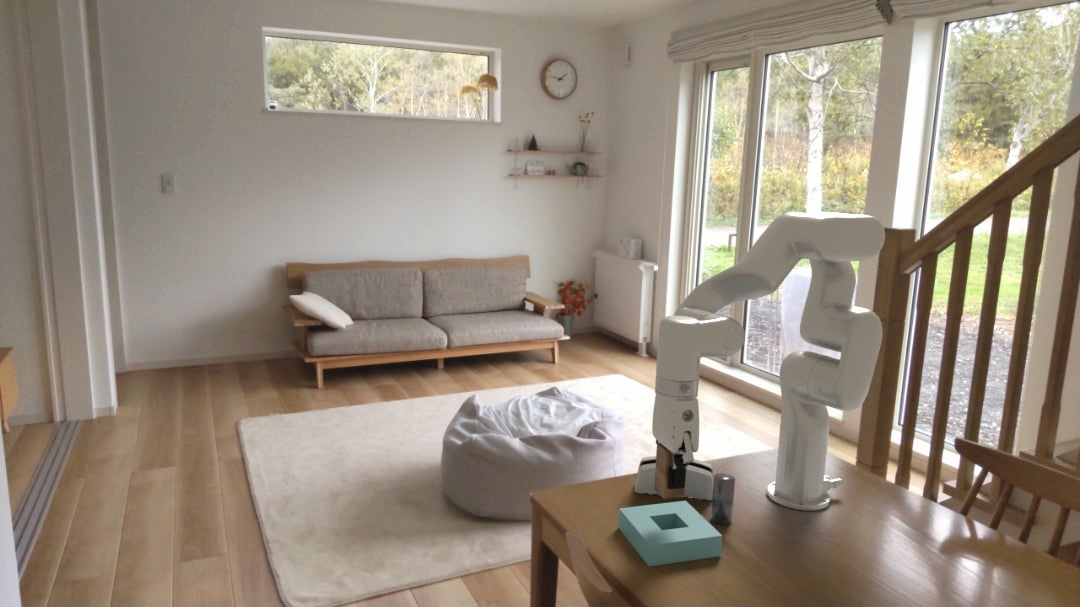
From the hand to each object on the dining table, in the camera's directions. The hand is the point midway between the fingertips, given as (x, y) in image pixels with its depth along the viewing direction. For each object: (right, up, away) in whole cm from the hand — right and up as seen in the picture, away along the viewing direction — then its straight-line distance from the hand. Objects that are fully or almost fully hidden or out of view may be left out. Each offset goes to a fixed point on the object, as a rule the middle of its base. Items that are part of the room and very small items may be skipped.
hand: (670, 481), depth 131 cm
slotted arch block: (+5, -8, +22) cm, 24 cm away
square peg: (0, -2, 0) cm, 2 cm away
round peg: (+12, -10, +11) cm, 19 cm away
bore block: (0, -12, +2) cm, 12 cm away
